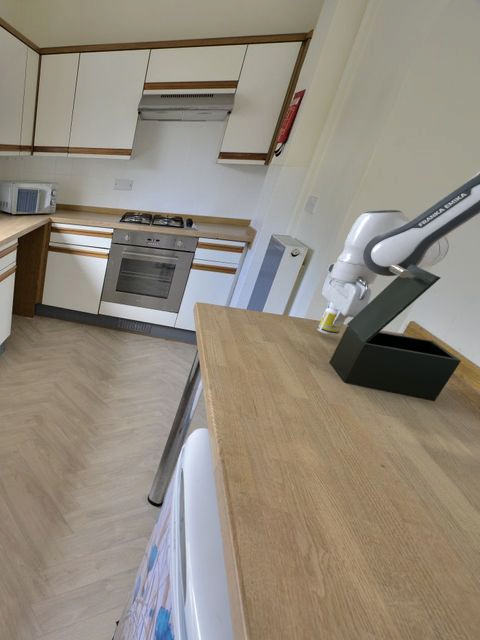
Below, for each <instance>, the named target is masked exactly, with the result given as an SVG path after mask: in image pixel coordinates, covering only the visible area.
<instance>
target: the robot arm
mask: <svg viewBox="0 0 480 640" xmlns="http://www.w3.org/2000/svg"><path fill="white" fill-rule="evenodd" d="M479 215H480V171H478V172H477V173H475V174H474V175H473V176H472V177H471V178H469V179H468V180H467V181H466V182H464V183H463V184H462V185H460V186H459V187H458V188H456V189H455V190H454V191H452V192H450V193H448V194H447V195H446V196H445V197H443V198H442V199H441V200H439V201H438V202H436V203H435V204H433V205H432V206H430V207H429V208H427V209H426V210H425V211H424V212H422V213H420V214H419V215H417V216H416V217H414V218H413V219H410V218H409V217H408V216H406V214H405V212H403V211H401V210H398V209H387V210H386V209H384V210H383V209H382V210H368V211H365V212H363V213H361V214H360V215H359V216H358V217H357V218H356V220H355V221H354V223H353V224H352V226H351V228H350V230H349V232H348V235H347V237H346V238H345V240H344V245H343V249H342V252H341V253H340V254H339V256H338V257H337V259H336V261H335V262H333V263H330V264H329V265H328V267H327V272H328V273H327V275H326V277H325V280H324V283H323V286H322V289H321V296H322V297H323V298H324V299H325V300H327V303H326V309H327V308H329V305H330V303H331V302H332V303H333V306H334V307H335V308H336V309H337V310H338V312H337V314H338V315H337V316H336V318H333V321H332V324H333V325H334V326H337V327H340V326H341V325H342V323H343V321H344V320H345V321H346V320H347V319H348V318H354V317H355V316H356V315H357V314H358V313H359V312H360V311H361V310H362V309H364V308H365V307H366V306H367V305H368V304H369V303H370V299H371V296H372V290H371V288H370V287H369V285H373V284H374V283H375V282H376V279H377V277H378V275H379V276H383V277H394V276H397V275H396V274H394V273H393V272H391V271H390V270H389V268H390V267H391V266H392V265H399V266H401V267H403V268H405V269H406V268H407V267H409V266H410V265H411V264H413V265H415V266H417V267H419V268H421V269H423V270H424V269H426V268H430V267H432V266H435V265H437V264H438V263H440V262H441V261H442V260H443V259H445V257H446V255H447V254H448V252H449V241H448V239H447V238H446V236H448V235H449V234H451V233H453V232H454V231H455V230H457V229H458V228H460V227H462V226H463V225H465V224H466V223H468V222H470V221H472V219H474V218H476V217H477V216H479ZM345 321H344V322H345ZM343 324H344V323H343ZM342 326H343V325H342Z"/></svg>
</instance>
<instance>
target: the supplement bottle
mask: <svg viewBox="0 0 480 640" xmlns="http://www.w3.org/2000/svg"><path fill="white" fill-rule="evenodd" d="M337 312H338V310H337V309H336V308H335V307H334V306H333V303H332V302H331V303H330V305H329V308H327V307H326V309H325V310H324V313H323V315H322V317H321V319H320V321H319V324H318V327H317V331H318V332H320V333H323V334H326V335H329V336H338V335H339V334H340V332H341V329H342V327H343V325H344V323H345V321H346V319H345V320H344V321H343V323H342V325H341V326H340V327H337V326H334V325H333V324H332V321H333V318H336V316H337V315H338V314H337Z"/></svg>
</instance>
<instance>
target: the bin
mask: <svg viewBox="0 0 480 640" xmlns="http://www.w3.org/2000/svg"><path fill="white" fill-rule="evenodd" d="M461 363H462V360H461V359H459V358H458V357H456V356H455V355H454V354H453V353H451V352H449V351H448V350H447V349H446V348H444V347H443V346H441V345H440V344H438V343H437V342H436V341H434V340H432V339H431V340H430V339H424V338H419V337H412V336H407V335H401V334H394V333H388V332H383V331H380V332H379V333H378V334H376V335H375V336H374V337H373V338H372V339H371V340H370V341H368V342H367V343H366V342H364V341H363V340H362V339H361V338H360V337H359V336H358V335H357V334H356V333H355V332H354V331H353V330H352V329H351V328H350V327H349V326H346V328H345V330H344V332H343V333H342V336H341V338H340V340H339V342H338V344H337V346H336V348H335V349H334V351H333V353H332V356H331V358H330V360H329V364H330V366H331V367H332V368H333V370H334V371H335V373H336V374H337V375H338V377H339V378H340V379H341V381H342V382H343V383H344V384H349V385H354V386H359V387H363V388H364V387H365V388H367V389H374V390H379V391H383V392H388V393H393V394H397V395H402V396H407V397H413V398H416V399H417V398H418V399H422V400H428V401H431V402H436V400H437V398H438V397H439V396H440V394H441V393H442V391H443V390H444V388H445V386H446V385H447V383H448V382H449V380H450V379H451V377H452V376H453V374H454V372H455V371H456V370H457V368H458V366H459V365H460V364H461Z"/></svg>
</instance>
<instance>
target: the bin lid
mask: <svg viewBox="0 0 480 640" xmlns="http://www.w3.org/2000/svg"><path fill="white" fill-rule="evenodd" d="M389 270H390V271H391V272H393V273H394V274H396V276H397V277H395V278H394V279H393V280H392V281H391V282H390V283H389V284H388V285H387V286H386V287H385V288H384V289H383V290H382V291H380V293H378V294H377V295H376V296H375V297H374V298H373V299H372V300H371V301H369V302H368V305H367V306H366V307H365V308H364V309H362V310H361V311H360V312H359V313H358V314H357V315H356V316H355V317H352V319H351V320H350V321H348V323H346V325H347V327H350V328H351V329H352V330H353V331H354V332H355V333H356V334H357V335H358V336H359V337H360V338H361V339H362V340H363V341H364V342H366V343H367V342H368V341H370V340H371V339H372V338H373V337H374V336H375V335H376V334H378V333H379V332H382V331H383V330H384V329H385V328H386V327H387V326H388V325H389V324H390V323H392V322H393V320H395V319H396V318H397V317H398V316H400V314H401V313H403V312H404V311H405V310H406V309H407V308H409V306H411V305H412V304H413V303H414V302H415V301H416V300H418V299H419V298H420V297H421V296H422V295H423V294H424V293H426V292H427V291H428V290H429V289H431V287H432V286H434V285H435V284H436V283H437V282H438V281H439V280H440V279H441V278H442V277H441V276H438V275H436V274H435V273H432V272H430V271H428V270H426V269H424V268H423V269H421V268H419V267H417V266H415V265H413V264H411V265H410V266H409V267H407V268H406V269H405V268H403V267H401V266H399V265H392V266H391V267H390V268H389Z"/></svg>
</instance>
